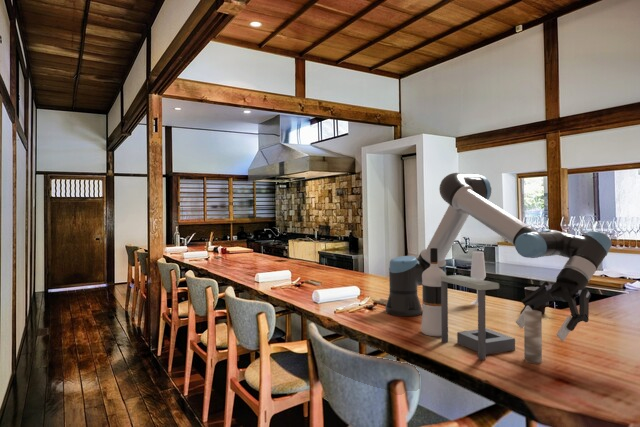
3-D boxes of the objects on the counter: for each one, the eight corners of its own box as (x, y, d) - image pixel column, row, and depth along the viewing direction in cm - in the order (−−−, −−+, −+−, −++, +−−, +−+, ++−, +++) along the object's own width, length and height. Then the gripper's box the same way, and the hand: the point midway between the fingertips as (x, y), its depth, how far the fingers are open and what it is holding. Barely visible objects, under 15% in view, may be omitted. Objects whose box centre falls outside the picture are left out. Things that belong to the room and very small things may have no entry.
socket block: (486, 338, 138) (486, 328, 138) (515, 349, 126) (515, 338, 126) (457, 342, 133) (457, 332, 133) (484, 354, 122) (483, 343, 122)
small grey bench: (457, 338, 138) (457, 274, 138) (500, 357, 120) (500, 283, 120) (440, 341, 135) (439, 275, 135) (481, 360, 117) (481, 285, 117)
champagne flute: (485, 302, 193) (485, 251, 193) (486, 305, 186) (486, 252, 186) (470, 301, 195) (470, 251, 195) (470, 304, 188) (470, 252, 188)
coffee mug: (520, 310, 177) (520, 287, 177) (539, 309, 178) (539, 286, 178) (536, 317, 165) (536, 292, 165) (557, 316, 166) (557, 291, 166)
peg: (524, 362, 116) (524, 312, 116) (524, 357, 120) (523, 309, 120) (542, 364, 114) (542, 314, 114) (541, 359, 118) (540, 310, 118)
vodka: (415, 332, 146) (414, 247, 145) (433, 328, 151) (432, 246, 151) (435, 338, 138) (435, 249, 138) (453, 334, 143) (453, 248, 143)
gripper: (625, 290, 111) (587, 353, 106) (545, 277, 135) (511, 328, 129) (611, 272, 110) (572, 334, 104) (533, 262, 133) (497, 313, 128)
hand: (538, 331), depth 117 cm, fingers open, 13 cm apart
